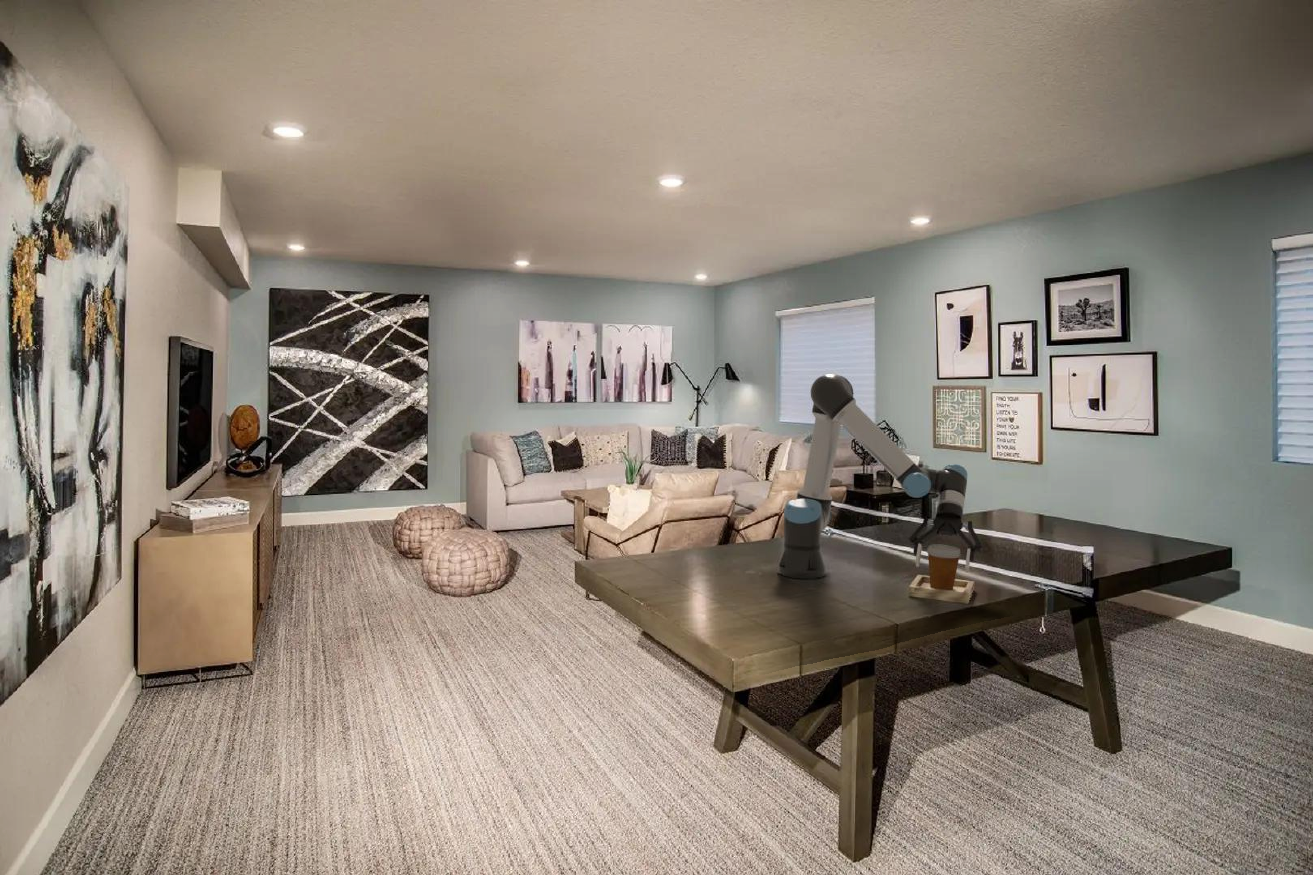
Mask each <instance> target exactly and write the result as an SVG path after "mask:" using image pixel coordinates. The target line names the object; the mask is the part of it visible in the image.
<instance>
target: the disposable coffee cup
mask: <svg viewBox="0 0 1313 875" xmlns="http://www.w3.org/2000/svg"><path fill="white" fill-rule="evenodd" d="M926 552H927V554H928V555H927V557H928V571H929V572H928V573H929V576H930V587H932V588H934V589H941V590H953V586H954V581H955V579H956V575H957V570H958V566H959V565H958V564H959V560H960V557H961V555H962V552H961V549H960V548H959V547H957V546H954V545H947V544H930V545H928V547H927V549H926Z"/></svg>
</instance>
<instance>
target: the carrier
mask: <svg viewBox="0 0 1313 875" xmlns="http://www.w3.org/2000/svg"><path fill="white" fill-rule="evenodd" d="M973 591H975V580H973V581H972V580H963V579H957V578H955V581H954V586H953V590H941V589H934V588H932V587H930V575H922V574H917V575H916V577H915V578H914V579H913V580H912V582H911V584H910V585H909V586H908V597H914V598H922V599H929V600H936V601H937V600H938V601H944V602H951V603H952V602H953V603H959V604H964V605H965V604H967V605H968V603H970V601H971V599H972V596H973V594H974V592H973ZM972 593H973V594H972ZM970 598H971V599H970ZM969 600H970V601H969Z"/></svg>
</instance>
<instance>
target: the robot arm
mask: <svg viewBox="0 0 1313 875" xmlns="http://www.w3.org/2000/svg"><path fill="white" fill-rule="evenodd" d="M810 399H811V401H812V402H813V405H812V410H811V413H812V415H813V417H814V419H815V420H814V424H813V431H812V436H811V437H812V438H811V442H810V446H809V447H810V448H809V454H808V458H807V464H806V470H805V475H804V480H803V482H804V483H803V486H802V488H800V489H799V490H798V491H797V494H796V498H795V499H791V500H789V501H787V502H786V504H785V505H784V509H783V515H784V520H783V522H784V524H783V525H784V526H783V550H782V553H781V556H780V558H779V562H778V566H777V574H779V575H781V574H782V576H784V577H787V578H793V579H800V580H802V579H803V580H810V579H811V580H812V579H819V578H824V577H825V576H826V573H827V572H826V571H827V570H826V569H827V568H826V564H825V562H824V558H823V554H822V552H821V545H822V544H821V543H822V542H821V540H822V539H821V538H822V531H824V530H825V529H826V528H827V527H828V526H829V524H830V521H831V519H832V509H831V507H832V500H833V496H832V495H831V494H830V486H831V482H832V476H833V470H834V465H835V461H836V454H837V449H838V443H839V437H840V432H841V427H843V428H844V429H845V430H846V431H847V432H848V433H849V434H850V435H851V436H852V437H853V438H854V439H855V440H856V441H857V443H859V445H860V446H862V447H863V448H864V450H866V451H867V452H868V453H869V454H870V456H872V457H873V459H875V460H876V461H877V462H878V463H879V464H880V465H881V466H882V467H883V468H884V469H885V470H886V471H887V472H888V473H889V474H890V476H892V477H893V478H894V479H895V480H896V481H897V482H898V484H899V485H900V487H901V488H902V489H903V490H904V492H905V493H906V495H908V496H909V497H912V498H914V499H915V498H916V499H917V498H923V497H924V496H926V495H927V494H929V493H931V494H936V495H937V494H938V499H937V507H936V512H935V518H933V519H929V518H928V517H926V516H924V518H923V521H922V523H921V524H920V525H919V526H918V527H917V529H916V530H915V531H914V532H913V533H912V534H911V535H910V537H909V538H908V542H909V545H910V546H914V547H913V556H914V557H915V556H916V557H915V567H916V568H919V567H920V565H921V564H920V563H921V557H922V550H923V545H924V544H926V543H928V542H929V541H930V540H932V539H933V538H934V537H937V536H939V535H941V536H951V537H952V536H955V537H956V539H958V540H959V541H960V542H961V543H962V544H963V545H964V546H965V547H966V549H967V550H966V551H967V552H966V560H965V573H968V574H969V573H970V563H973V562H974V561H975V556H976V553H982V552H983V545H982V542H980V539H979V537H978V536H977V533H976V531H975V529H974V528H973V522H972V520H969V521H967V522H963V516H964V515H963V514H964V509H965V508H964V507H965V501H966V500H965V498H966V491H967V484H968V471H967V470H966V468H965V467H964V466H962V465H960V464H956V463H952V464H947V465H945V466H944V467H943V469H942V470H941V469H940V470H939V469H932V468H926V467H925V468H924V467H919V466H918V465H917V464H916V463H915V462H914V461H913V460H912V459H911V458H910V457H909V455H907V454H906V453H905V452H904V451H903V449H901V448H900V447H899V446H898V445H897V444H896V443H895V442H894V441H893V440H892V439H891V438H890V437H889V435H887V434H886V433H885V432H884V431H883V430H882V429H881V428H880V427H879V426H878V425H877V424H876V423H875V422H874V421H873V420H872V419H871V418H870V417H869V416H868V415H867V414H866V413H865V412H864V411H863V410H862V409H861V408H860V407H859V406H858V405H857V400H856V398H854V388H853V384H851V382H850V381H849V380H848V378H846V377H845V376H842V375H839V374H832V373H831V374H823V375H821V376H819V377H817V378H816V379H815V380H814V382H813V383H812V384H811V387H810ZM931 526H932V527H931ZM929 527H931V528H930V529H929V530H928V528H929ZM963 528H964V529H965V531H967V532H968V534H969V536H970V538H971V541H970V540H969V538H968V537H967V536H966V535H965V533H964V532H963V531H962V529H963ZM926 530H927V532H926Z"/></svg>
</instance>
